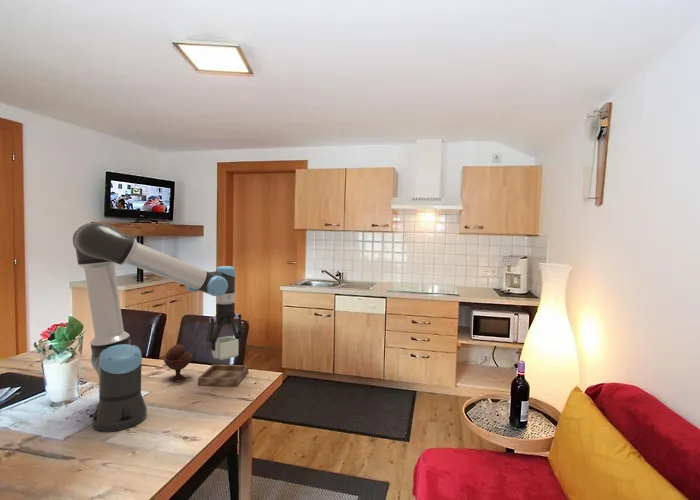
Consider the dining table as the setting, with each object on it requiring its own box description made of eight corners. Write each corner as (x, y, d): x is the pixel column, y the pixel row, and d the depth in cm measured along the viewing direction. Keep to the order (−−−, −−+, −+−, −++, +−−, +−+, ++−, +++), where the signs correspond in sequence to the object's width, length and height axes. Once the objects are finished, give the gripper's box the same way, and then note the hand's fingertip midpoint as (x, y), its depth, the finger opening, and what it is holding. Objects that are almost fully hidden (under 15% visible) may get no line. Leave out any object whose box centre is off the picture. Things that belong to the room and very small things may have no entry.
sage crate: (220, 360, 151) (220, 343, 150) (212, 355, 156) (212, 339, 156) (238, 356, 156) (238, 339, 156) (229, 351, 162) (229, 335, 162)
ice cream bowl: (197, 377, 157) (197, 343, 156) (172, 386, 147) (173, 349, 147) (182, 372, 162) (183, 338, 162) (158, 380, 153) (158, 344, 152)
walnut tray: (197, 385, 149) (197, 378, 149) (212, 371, 165) (213, 364, 165) (236, 386, 149) (237, 379, 148) (248, 372, 164) (248, 365, 164)
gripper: (204, 306, 145) (204, 363, 146) (252, 301, 160) (251, 352, 161) (197, 304, 151) (197, 358, 152) (243, 298, 165) (243, 348, 166)
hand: (225, 355), depth 156 cm, fingers closed on sage crate, 8 cm apart
